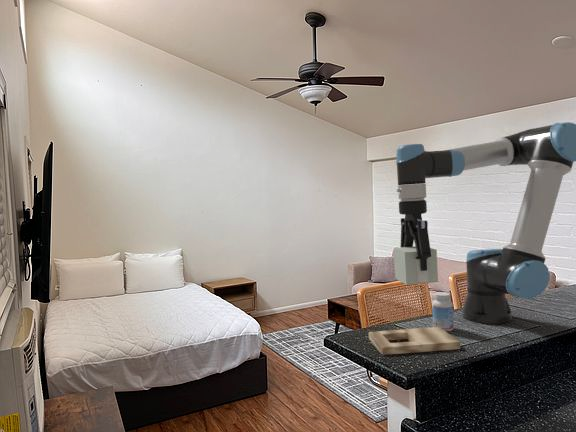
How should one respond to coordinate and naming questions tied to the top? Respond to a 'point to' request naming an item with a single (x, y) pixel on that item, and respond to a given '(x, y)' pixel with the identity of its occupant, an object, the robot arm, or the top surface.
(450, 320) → the pill bottle
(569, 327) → the top surface
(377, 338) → the board
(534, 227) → the robot arm
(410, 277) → the block
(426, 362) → the top surface
